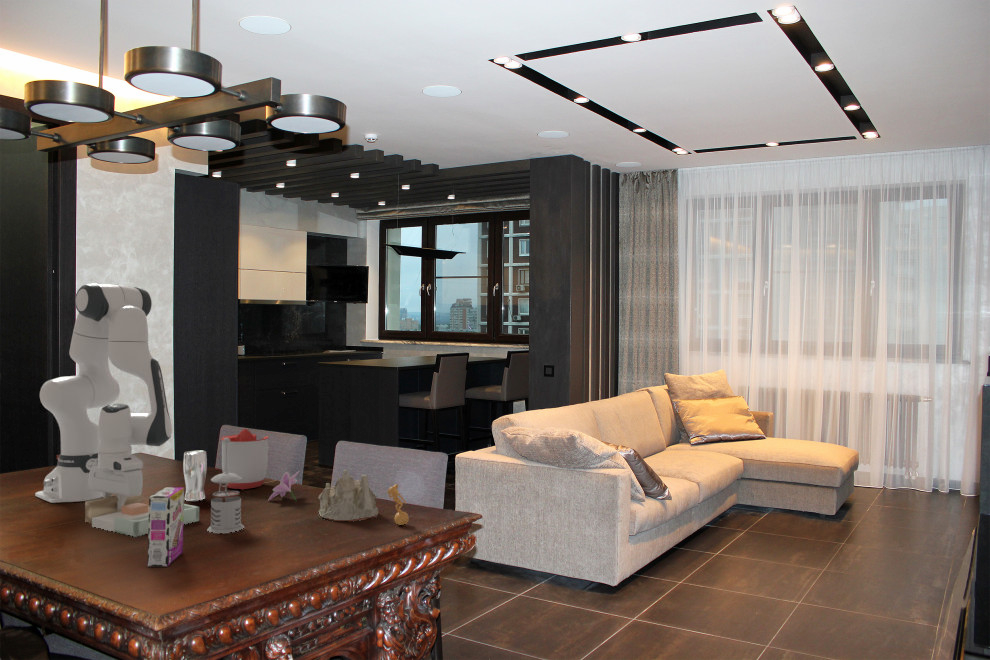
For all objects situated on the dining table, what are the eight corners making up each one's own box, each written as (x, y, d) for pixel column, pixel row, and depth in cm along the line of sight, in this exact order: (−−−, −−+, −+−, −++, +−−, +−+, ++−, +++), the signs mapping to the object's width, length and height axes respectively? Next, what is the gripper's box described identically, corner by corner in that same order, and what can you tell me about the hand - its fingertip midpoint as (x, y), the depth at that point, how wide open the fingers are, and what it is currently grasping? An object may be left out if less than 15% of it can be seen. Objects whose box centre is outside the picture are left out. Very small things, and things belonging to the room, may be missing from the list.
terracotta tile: (121, 513, 217) (121, 506, 217) (137, 509, 222) (137, 502, 222) (132, 515, 215) (132, 508, 215) (148, 511, 219) (148, 504, 219)
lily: (303, 498, 254) (290, 472, 255) (316, 490, 245) (302, 463, 246) (271, 515, 246) (257, 488, 247) (283, 507, 237) (269, 479, 238)
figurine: (415, 527, 215) (416, 484, 215) (397, 531, 211) (397, 487, 211) (399, 521, 222) (400, 479, 222) (381, 524, 218) (382, 482, 218)
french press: (209, 535, 205) (210, 441, 205) (203, 524, 216) (204, 435, 215) (247, 530, 210) (248, 439, 210) (240, 520, 220) (241, 433, 220)
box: (114, 532, 207) (114, 517, 207) (178, 516, 224) (178, 502, 224) (135, 537, 202) (135, 522, 202) (199, 520, 220) (199, 506, 220)
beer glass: (198, 502, 242) (198, 454, 242) (178, 501, 243) (178, 453, 243) (210, 497, 249) (211, 451, 248) (191, 496, 250) (191, 450, 250)
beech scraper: (85, 522, 217) (85, 501, 217) (136, 511, 230) (136, 491, 230) (90, 524, 215) (90, 502, 215) (141, 512, 229) (142, 492, 229)
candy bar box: (169, 567, 178) (169, 496, 178) (146, 567, 178) (147, 496, 178) (184, 552, 190) (185, 486, 189) (163, 553, 189) (164, 486, 189)
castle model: (384, 517, 226) (381, 465, 226) (330, 526, 217) (328, 473, 218) (364, 509, 239) (361, 460, 240) (312, 517, 231) (310, 467, 231)
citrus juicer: (281, 484, 269) (282, 427, 269) (241, 493, 255) (241, 433, 255) (251, 479, 278) (252, 423, 278) (210, 487, 263) (211, 429, 263)
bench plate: (91, 526, 212) (91, 517, 212) (155, 511, 229) (156, 503, 229) (114, 532, 207) (114, 523, 207) (178, 516, 224) (178, 507, 224)
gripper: (82, 458, 225) (82, 506, 225) (127, 466, 215) (126, 515, 215) (103, 455, 231) (102, 501, 231) (147, 462, 220) (146, 510, 221)
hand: (114, 508), depth 223 cm, fingers open, 3 cm apart
